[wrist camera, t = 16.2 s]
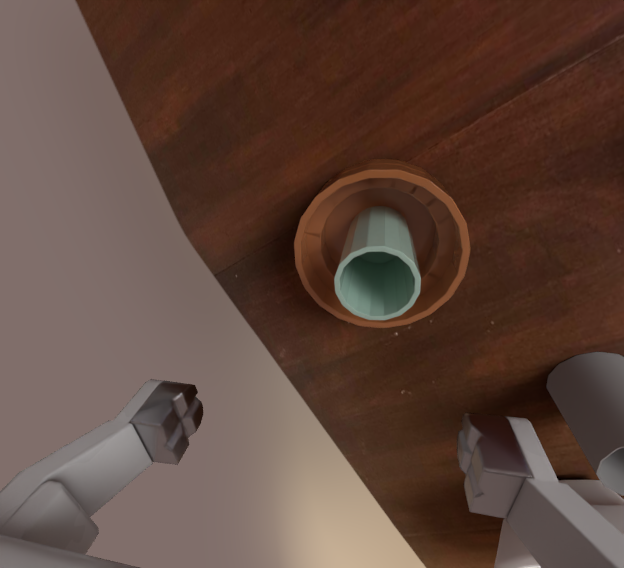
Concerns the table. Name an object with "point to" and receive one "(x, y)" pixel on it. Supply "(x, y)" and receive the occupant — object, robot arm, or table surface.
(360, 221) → the tumbler
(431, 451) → the table surface
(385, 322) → the brown bowl
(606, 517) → the bowl
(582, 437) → the cup
